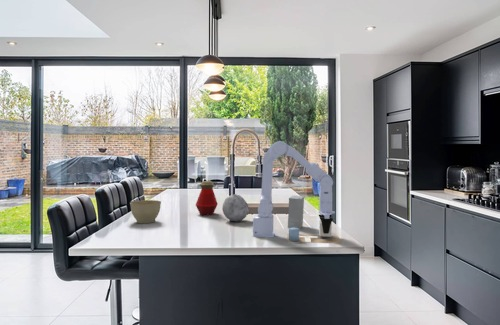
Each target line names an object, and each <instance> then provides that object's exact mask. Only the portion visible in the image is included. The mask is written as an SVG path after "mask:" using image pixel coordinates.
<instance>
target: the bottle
mask: <svg viewBox="0 0 500 325" xmlns="http://www.w3.org/2000/svg"><path fill="white" fill-rule="evenodd" d="M214 185H215V184H214V182H213V181H211V180H203V181H202V182H201V183H200V188H201V190H200V193H199V195H198V197H197V200H196V203H195V207H196V209H197V210H198V211H197V212H198V213H199V215H201V216H212V215H214V213H215V211H216V209H217V206H218V202H217V201H218V200H217V197H216V195H215V191H214V189H213V188H214Z"/></svg>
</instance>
